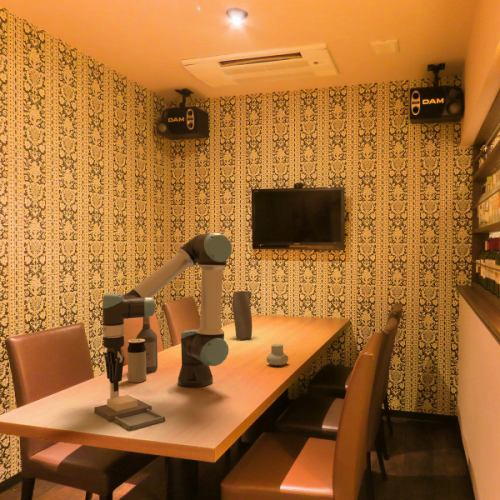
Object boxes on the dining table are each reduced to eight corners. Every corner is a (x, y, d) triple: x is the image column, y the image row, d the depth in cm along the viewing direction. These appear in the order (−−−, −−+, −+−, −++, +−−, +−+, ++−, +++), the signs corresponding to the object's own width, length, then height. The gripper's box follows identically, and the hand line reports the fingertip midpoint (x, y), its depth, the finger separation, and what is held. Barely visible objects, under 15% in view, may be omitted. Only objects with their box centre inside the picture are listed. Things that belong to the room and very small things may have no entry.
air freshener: (278, 368, 242) (277, 347, 242) (264, 366, 247) (264, 345, 246) (290, 363, 250) (290, 343, 250) (276, 361, 255) (276, 342, 255)
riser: (134, 403, 191) (134, 398, 191) (151, 411, 181) (151, 406, 181) (94, 412, 181) (94, 407, 181) (109, 422, 171) (109, 416, 171)
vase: (243, 341, 310) (242, 293, 309) (229, 339, 318) (228, 292, 318) (256, 338, 318) (255, 291, 318) (242, 336, 327) (241, 290, 327)
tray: (148, 412, 180) (148, 408, 180) (165, 421, 171) (165, 416, 171) (114, 421, 172) (114, 416, 172) (130, 430, 162) (130, 426, 162)
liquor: (155, 372, 237) (153, 309, 236) (135, 373, 237) (134, 309, 236) (158, 368, 246) (157, 307, 246) (139, 368, 246) (138, 307, 245)
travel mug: (138, 383, 218) (138, 342, 218) (124, 381, 222) (123, 341, 221) (149, 379, 225) (149, 339, 225) (135, 377, 229) (134, 338, 229)
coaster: (127, 401, 187) (127, 394, 187) (137, 406, 181) (137, 399, 181) (107, 406, 182) (107, 399, 182) (116, 411, 176) (116, 404, 176)
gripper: (96, 334, 188) (97, 397, 188) (111, 339, 178) (112, 405, 178) (115, 332, 193) (116, 393, 193) (130, 336, 183) (132, 401, 183)
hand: (114, 399), depth 186 cm, fingers closed
